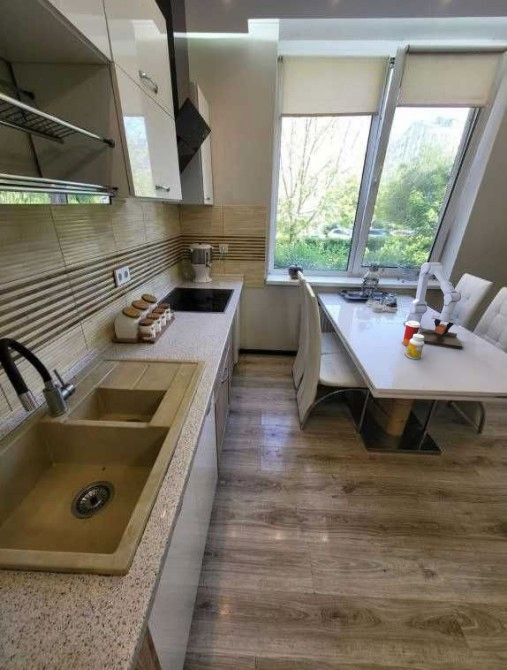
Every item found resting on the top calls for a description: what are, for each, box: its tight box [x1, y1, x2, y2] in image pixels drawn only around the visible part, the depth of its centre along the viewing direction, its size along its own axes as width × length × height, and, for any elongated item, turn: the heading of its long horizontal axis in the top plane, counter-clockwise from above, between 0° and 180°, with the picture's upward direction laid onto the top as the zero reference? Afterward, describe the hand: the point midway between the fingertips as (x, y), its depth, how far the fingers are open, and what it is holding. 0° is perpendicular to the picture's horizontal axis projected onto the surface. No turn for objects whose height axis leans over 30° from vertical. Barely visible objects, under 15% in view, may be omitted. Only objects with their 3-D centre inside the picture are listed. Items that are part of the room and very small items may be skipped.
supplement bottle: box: [405, 333, 425, 360], centre depth 150 cm, size 7×7×13 cm
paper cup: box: [402, 321, 422, 347], centre depth 164 cm, size 8×8×14 cm
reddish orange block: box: [433, 323, 447, 336], centre depth 171 cm, size 11×4×4 cm, turn 129°
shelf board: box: [419, 327, 464, 350], centre depth 171 cm, size 20×16×4 cm
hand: (440, 332), depth 171 cm, fingers closed on reddish orange block, 4 cm apart
